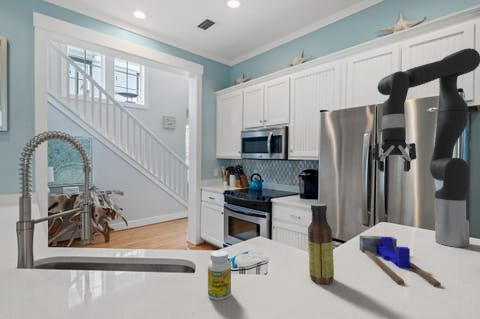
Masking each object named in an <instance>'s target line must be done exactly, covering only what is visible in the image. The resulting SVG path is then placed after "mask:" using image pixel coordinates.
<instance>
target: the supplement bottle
mask: <svg viewBox="0 0 480 319" xmlns="http://www.w3.org/2000/svg"><path fill="white" fill-rule="evenodd" d="M228 259H229V253H228V252H227V251H225V250H214V251H212V252H211V253H210V262H209V263H208V265H207V295H208V296H207V297H208V298H209V299H211V300H213V301H222V300H226V299H228V298H229V297H230V296H231V293H232V264H231V262H230V261H229V260H228Z"/></svg>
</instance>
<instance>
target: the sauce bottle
mask: <svg viewBox="0 0 480 319" xmlns="http://www.w3.org/2000/svg"><path fill="white" fill-rule="evenodd" d="M327 206H328V205H327V204H326V203H319V202H318V203H311V204H310V209H311V222H310V224H309V226H308V227H307V235H308V236H307V238H308V239H307V244H308V246H307V247H308V270H309V271H308V272H309V278H310V279H311V281H313V282H314V283H318V284H320V285H329V284H333V282H334V279H335V277H334V275H335V270H334V269H335V268H334V267H335V265H334V248H333V245H334V243H333V242H334V241H333V235H332V234H333V230H332V228H331V227H330V225H329V222H328V218H327V210H328V207H327Z"/></svg>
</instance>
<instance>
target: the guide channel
mask: <svg viewBox="0 0 480 319" xmlns="http://www.w3.org/2000/svg"><path fill="white" fill-rule="evenodd" d="M381 237H386V236H385V235H384V236H383V235H382V236H379V235H377V236H376V235H359V250H360V251H361V252H362V253H364V254H365V255H366V256H367V257H368V258H370V260H371V261H372V262H374V263H375V264H376V266H378V267H379V269H380V270H382V271H383V272H384V273H385V274H387V276H388V277H389V278H391V279H392V281H394V282H395V283H396V284H397V285H402V286H403V285H405V280H404V279H403V278H401V276H400V275H398V274H397V272H395V271H394V270H392V269H391V268H390V267H389V266H388V265H387V264H386V263H385V262H384V261H382V260H381V259H380V258H379V257H377V256H376V255H375V254H377V253H376V245H381ZM390 237H391V238H392V240H393V246H394V249H395V251H396V247H398V246H397V242H398V241H397V238H395V237H394V236H390ZM409 269H410V270H412V271H413V272H414V273H416V274H417V275H418V276H419V277H421V278H422V279H423V280H425V281H426V282H428V283H429V284H430V285H431V286H433V287H436V288H441V287H442V284H441V282H440V281H439V280H437V279H436V278H435V277H433V276H432V275H430V274H429V273H428V272H426V271H424V270H423V269H422V268H420V267H419V266H417V265H416V264H415V263H414V262H411V261H410V268H409Z"/></svg>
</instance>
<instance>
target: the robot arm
mask: <svg viewBox="0 0 480 319" xmlns="http://www.w3.org/2000/svg"><path fill="white" fill-rule="evenodd" d="M479 66H480V53H479V51H478V50H477V49H475V48H471V47H470V48H464V49H460V50H459V51H455V52H453V53H451V54H449V55H446V56H444V57H443V58H442V59H440V60H437V61H433V62H429V63H426V64H421V65H419V66H415V67H412V68H409V69H406V70H405V71H401V70H399V71H395V72H393V73H391V74H389V75H386V76H385V77H383V78H381V79H380V80H379V81H378V84H377V91H378V92H379V94H381V95H383V96H389V97H388V98H387V99H386V100H384V101H383V103H382V105H381V106H382V114H381V115H382V119H381V143H373V145H372V154H371V155H372V157H371V158H372V160H374V161H377V169H378V170H379V172H385V161H384V160H386V158H387V157H388V156H399V157H401V158H402V160H403V172H410V170H411V168H412V167H411V162H412V161H414V160H416V159H417V148H416V143H415V142H411V143H407V142H406V140H407V138H406V137H407V135H406V133H407V132H406V131H407V130H406V128H407V126H406V125H407V124H406V116H405V113H406V112H405V103H406V100H407V96H408V93H409V92H408V91H409V89H412V88H416V87H419V86H422V85H425V84H428V83H430V82H433V81H435V80H438V79H439V80H438V82H439V84H438V85H439V95H438V108H437V116H436V117H437V118H436V127H435V128H436V131H435V136H434V137H435V138H434V139H435V140H434V147H433V151H432V155H431V156H432V157H431V159H430V165H429V170H430V171H429V172H430V175H431V176H432V178H433V179H435V180H436V181H440V182H442V187H441V188H440V189H438V190H435V191H434V215H435V216H434V223H435V225H434V230H435V231H434V232H435V236H434V237H435V242H436V243H438V244H440V245H443V246H444V245H445V246H448V247H453V248H454V247H456V248H465V247H470V221H469V220H468V219H467V195H468V194H469V190H470V175H471V174H470V167H469V164H468V162H467V161H466V160H465V159H463V158H461V157H453V156H454V149H455V146H456V143H458V140H459V139H460V137H461V135H462V134H463V133H464V131H465V129H466V127H467V124H468V118H469V116H468V115H469V106H468V104H467V102H466V101H465V99H464V98H463V97H462V95H461V94H460V92H459V90H458V77H460V76H463V75H465V74H469V73H472V72H473V71H474V70H476V69H477V68H478V67H479ZM406 148H407V150H408V152H407V151H406V150H405V149H406ZM380 149H382V151H381V153H380V155H379V152H380V151H379V150H380Z"/></svg>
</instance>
